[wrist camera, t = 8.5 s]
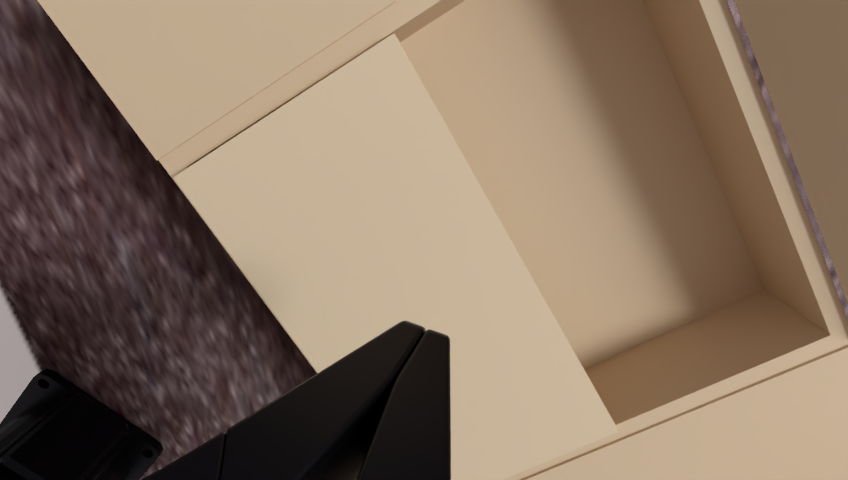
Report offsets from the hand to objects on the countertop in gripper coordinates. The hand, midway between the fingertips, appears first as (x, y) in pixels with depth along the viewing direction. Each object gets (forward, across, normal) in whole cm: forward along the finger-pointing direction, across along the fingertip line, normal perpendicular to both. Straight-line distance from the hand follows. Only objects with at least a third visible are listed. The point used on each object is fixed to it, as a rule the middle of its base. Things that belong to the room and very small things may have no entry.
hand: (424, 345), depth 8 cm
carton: (+11, 0, +4) cm, 12 cm away
